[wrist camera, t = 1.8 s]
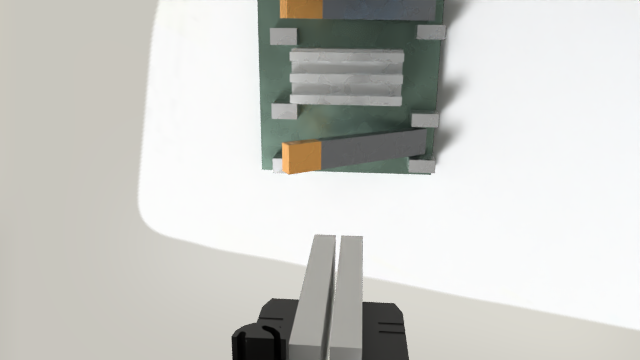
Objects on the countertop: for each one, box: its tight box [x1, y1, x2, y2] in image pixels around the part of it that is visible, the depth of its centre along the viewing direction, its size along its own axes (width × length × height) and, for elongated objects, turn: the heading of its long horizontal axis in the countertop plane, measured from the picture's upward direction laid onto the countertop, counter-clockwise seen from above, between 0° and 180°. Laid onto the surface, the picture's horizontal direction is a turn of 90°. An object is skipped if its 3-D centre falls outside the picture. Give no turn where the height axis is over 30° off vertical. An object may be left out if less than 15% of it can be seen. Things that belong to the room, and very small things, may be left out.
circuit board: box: [258, 0, 446, 175], centre depth 38 cm, size 14×16×5 cm
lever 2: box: [282, 127, 427, 174], centre depth 36 cm, size 12×2×1 cm
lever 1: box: [280, 0, 436, 21], centre depth 34 cm, size 12×2×1 cm
